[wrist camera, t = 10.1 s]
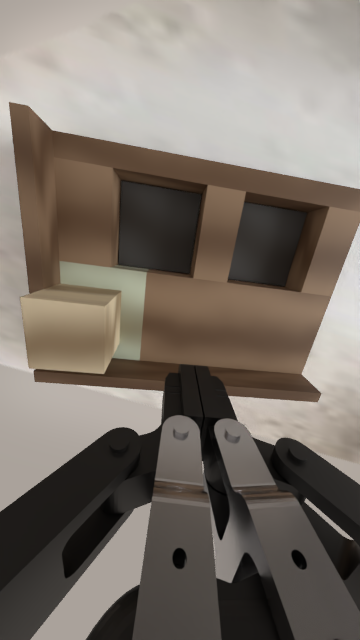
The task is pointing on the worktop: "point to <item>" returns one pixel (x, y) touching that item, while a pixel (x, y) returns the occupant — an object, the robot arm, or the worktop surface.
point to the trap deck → (184, 257)
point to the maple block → (71, 328)
